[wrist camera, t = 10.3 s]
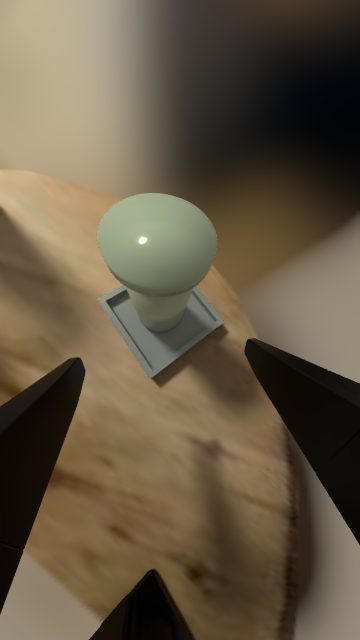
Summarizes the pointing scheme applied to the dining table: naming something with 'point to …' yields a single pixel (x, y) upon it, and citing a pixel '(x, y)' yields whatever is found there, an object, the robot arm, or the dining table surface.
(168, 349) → the tray
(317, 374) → the robot arm
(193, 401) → the dining table surface
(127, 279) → the sage green mushroom knob
